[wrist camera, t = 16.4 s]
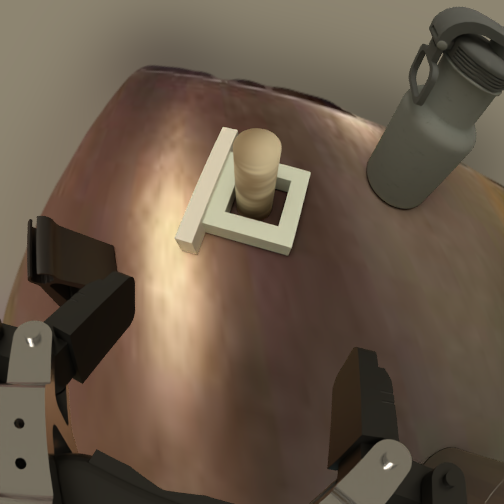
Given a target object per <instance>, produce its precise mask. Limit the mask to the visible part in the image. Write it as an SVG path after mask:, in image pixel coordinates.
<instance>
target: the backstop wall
mask: <svg viewBox="0 0 504 504" xmlns="http://www.w3.org/2000/svg"><path fill="white" fill-rule="evenodd" d="M237 136H238V130H235V129H230V128H225V127H223V128H222V130H221V132H220V134H219V136H218V139H217V141H216V143H215V145H214V147H213V149H212V151H211V154H210V156H209V158H208V160H207V162H206V165H205V167H204V169H203V171H202V174H201V176H200V178H199V181H198V183H197V185H196V187H195V190H194V192H193V194H192V197H191V199H190V202H189V204H188V206H187V209H186V211H185V214H184V216H183V218H182V221H181V223H180V226H179V228H178V231H177V233H176V236H175V240H176V241H177V243H178V245H179V247H180V248H181V250H182V251H185V252H189V253H192V254H196V255H197V254H198V252H199V249H200V246H201V243H202V241H203V238H204V235H205V233H206V232H205V230H204V227H203V224H202V222H203V219H204V217H205V214H206V212H207V209H208V206H209V204H210V201H211V199H212V196H213V194H214V191H215V189H216V186H217V184H218V181H219V179H220V176H221V174H222V172H223V169H224V167H225V164H226V162H227V160H228V157H229V155H230V152H233V142H234V140H235V138H236V137H237Z"/></svg>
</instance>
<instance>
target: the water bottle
mask: <svg viewBox="0 0 504 504" xmlns="http://www.w3.org/2000/svg"><path fill="white" fill-rule="evenodd" d="M429 30H430V32H431V34H432V39H431V41H430V43H429V45H426V44H422V46H421V47H420V49H419V51H418V53H417V55H416V57H415V60H414V62H413V64H412V66H411V68H410V72H409V82H410V89H409V90H408V91H407V92H406V93H405V95H404V96H403V98H402V100H401V102H400V104H399V106H398V108H397V110H396V112H395V113H394V115H393V117H392V119H391V121H390V123H389V124H388V126H387V128H386V130H385V132H384V134H383V135H382V137H381V139H380V141H379V143H378V145H377V146H376V148H375V150H374V152H373V153H372V155H371V157H370V159H369V161H368V165H367V176H368V179H369V182H370V184H371V187H372V188H373V190H374V191H375V193H376V194H377V195H378V196H379V197H380V198H381V199H382V200H384V201H385V202H386V203H388V204H390V205H392V206H395V207H398V208H403V209H409V208H414V207H416V206H418V205H420V204H421V203H422V202H423V201H424V200H425V199H426V198H427V197H428V196H429V195H430V194H431V193H432V192H433V191H434V190H435V189H436V188H437V187H438V186H439V184H440V183H441V182H442V181H443V180H444V179H445V178H446V177H447V176H448V175H449V174H450V173H451V172H452V171H453V170H454V169H455V168H456V167H457V166H458V164H459V163H460V162H461V161H462V160H463V159H464V158H465V157H466V156H467V155H468V154H469V152H470V151H471V150H472V149H473V147H474V145H475V142H476V128H475V122H476V121H477V120H478V119H479V117H480V116H481V115H482V113H483V112H484V111H485V110H486V108H487V107H488V106H489V105H490V103H491V102H492V101H493V99H494V98H495V97H496V96H499V95H500V94H501V93H502V90H504V27H503V26H501V25H500V24H498V23H496V22H495V21H493V20H492V19H490V18H489V17H487V16H485V15H483V14H482V13H480V12H478V11H476V10H473V9H470V8H465V7H453V8H449V9H446V10H444V11H442V12H440V13H439V14H438V15H436V16H435V18H434V19H433V21H432V23H431V25H430V27H429ZM482 35H483V36H486V37H488V38H490V39H491V40H490V41H489V40H487V39H486V38H484V37H483V36H482ZM442 53H443V56H442V58H441V60H440V61H439V63H438V65H437V62H438V60H439V58H440V56H441V54H442ZM425 54H426V56H427V60H428V63H429V66H430V73H429V77H428V80H427V82H426V83H425V85H418V86H417V83H416V74H417V70H418V68H419V66H420V64H421V62H422V60H423V58H424V56H425Z"/></svg>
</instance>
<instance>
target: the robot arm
mask: <svg viewBox="0 0 504 504" xmlns="http://www.w3.org/2000/svg"><path fill="white" fill-rule="evenodd" d="M134 314H135V281H134V278H133V277H131V276H128V275H125V274H123V273H120V272H118V271H113V272H112V273H110V274H109V275H108V276H107V277H106V278H105V279H103V280H101V279H98V280H95V281H93V282H91V283H88V284H86V285H85V286H84V287H83V288H82V289H80V290H79V291H78V293H76V294H75V295H73V296H72V297H71V299H70V300H68V301H67V302H65V303H64V304H63V305H62V306H61V307H60V308H59V309H58V310H56V311H55V312H54V313H53V314H52V315H51V316H50V317H49V318H48V319H46V320H45V321H44V322H41V321H29V322H26V323H24V324H22V325H20V326H19V327H14V326H11V325H7V324H3V323H1V320H0V504H233V503H229V502H225V501H222V500H218V499H215V498H211V497H208V496H204V495H194V494H186V493H178V492H171V491H166V490H162V489H160V488H159V487H157V486H156V485H154V484H153V483H152V482H150V481H149V480H147V479H146V478H145V477H143V476H142V475H141V474H139V473H138V472H137V471H135V470H134V469H133V468H131V467H130V466H128V465H126V464H124V463H122V462H120V461H118V460H116V459H114V458H112V457H110V456H108V455H106V454H104V453H103V452H101V451H99V450H97V449H96V451H95V453H94V454H93V456H91V455H86V454H79V453H78V449H77V445H76V442H75V439H74V436H73V431H72V423H71V413H70V400H69V387H68V383H69V382H70V380H71V379H72V378H73V379H75V380H77V381H78V382H80V383H82V384H83V383H84V381H85V380H86V379H87V378H88V376H89V375H90V374H91V373H92V371H93V370H94V369H95V368H96V366H97V365H98V364H99V363H100V361H101V360H102V359H103V358H104V356H105V355H106V354H107V353H108V351H109V350H110V349H111V348H112V347H113V345H114V344H115V343H116V342H117V340H118V339H119V338H120V337H121V336H122V334H123V333H124V332H125V331H126V330H127V328H128V327H129V326H130V324H131V323H132V320H133V318H134ZM327 469H331V470H338V477H337V479H336V480H335V481H333V482H332V483H331V484H330V485H329V486H328V487H327V488H326V489H325V490H324V491H323V492H322V493H320V494H319V495H318V496H317V497H316V498H315V499H314V500H312V501H311V502H310V503H309V504H504V462H501V461H497V460H494V459H490V458H487V457H483V456H480V455H477V454H474V453H471V452H467V451H464V450H461V449H458V448H451V447H450V448H446V449H443V450H441V451H438V452H437V453H436V454H434V455H433V456H432V457H430V458H429V459H428V460H427V461H426V462H425V464H424V465H422V464H419V463H417V462H415V461H413V460H412V459H411V455H410V452H409V451H408V449H407V448H406V447H405V446H404V445H403V444H401V443H400V442H399V438H398V428H397V418H396V410H395V405H394V395H393V388H392V381H391V379H390V377H389V375H388V374H387V372H386V370H385V369H384V368H379V367H378V361H377V355H376V352H375V351H371V350H367V349H363V348H358V347H354V348H353V349H352V351H351V353H350V354H349V356H348V358H347V360H346V361H345V363H344V365H343V367H342V368H341V370H340V372H339V373H338V375H337V377H336V379H335V382H334V386H333V392H332V412H331V429H330V443H329V456H328V467H327Z"/></svg>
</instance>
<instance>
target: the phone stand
mask: <svg viewBox="0 0 504 504" xmlns="http://www.w3.org/2000/svg"><path fill="white" fill-rule="evenodd" d="M27 270H28V281H29V282H31V283H34V284H37V285H39V286H41V287H42V288H43V289H44V291H45V292H46V293H47V294H48V295H49V296H50V297H51V298H52V299H53V300H54V301H55V302H56V303H57V304H58V305H59V306H60V307H61V306H62V305H63V304H64V303H65V302H67V301H68V300H70V299H71V297H72V296H73V295H75V294H76V293H78V291H79V290H80V289H82V288H83V287H84V286H85V285H86V284H88V283H91V282H93V281H95V280H98V279H101V280H103V279H105V278H106V277H107V276H108V275H109V274H110V273H112V272H113V271H117V269H116V262H115V254H114V246H113V245H110V244H107V243H104V242H102V241H99V240H96V239H93V238H91V237H88V236H85V235H83V234H80V233H77V232H74V231H72V230H69V229H66V228H64V227H61V226H59V225H57V224H56V223H55V222H54V221H53V220H52V219H51V218H49V217H46V216H37V229H36V228H33V227H32V220H31V219H30V220H29V221H28V234H27Z"/></svg>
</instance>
